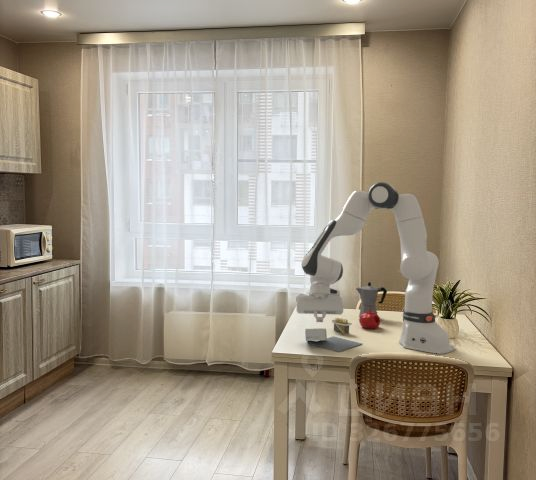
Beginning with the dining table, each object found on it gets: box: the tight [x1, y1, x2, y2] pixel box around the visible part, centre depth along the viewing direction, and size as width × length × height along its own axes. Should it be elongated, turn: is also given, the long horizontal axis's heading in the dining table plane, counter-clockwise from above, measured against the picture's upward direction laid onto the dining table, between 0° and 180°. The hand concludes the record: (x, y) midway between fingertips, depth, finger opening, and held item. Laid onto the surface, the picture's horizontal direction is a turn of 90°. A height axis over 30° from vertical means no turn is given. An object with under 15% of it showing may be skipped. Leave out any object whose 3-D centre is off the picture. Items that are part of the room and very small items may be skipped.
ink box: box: [305, 328, 328, 342], centre depth 229 cm, size 9×5×12 cm
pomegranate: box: [358, 308, 382, 330], centre depth 258 cm, size 10×10×9 cm
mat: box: [309, 335, 363, 353], centre depth 229 cm, size 15×16×1 cm
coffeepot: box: [355, 281, 388, 318], centre depth 277 cm, size 15×9×18 cm, turn 87°
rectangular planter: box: [331, 317, 353, 334], centre depth 249 cm, size 12×18×7 cm, turn 52°
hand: (319, 321), depth 234 cm, fingers closed
